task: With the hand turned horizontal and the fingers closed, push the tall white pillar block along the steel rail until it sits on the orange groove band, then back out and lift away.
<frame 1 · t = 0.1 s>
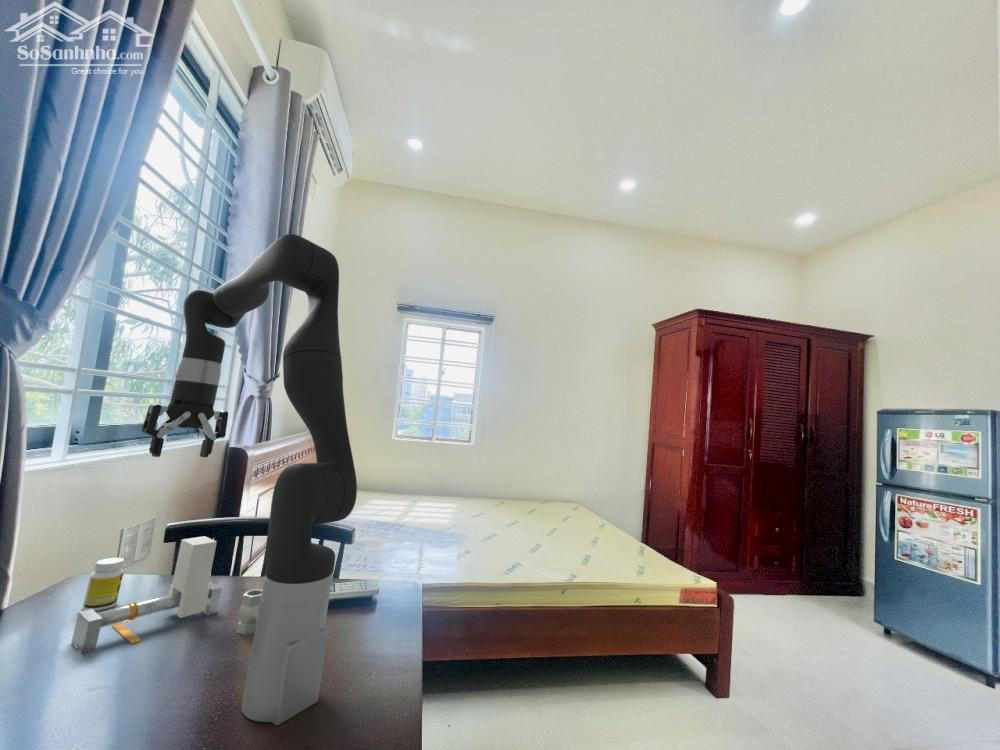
hand: (180, 456, 83), 29 cm above the table, tool pointing down, fingers open, 8 cm apart
tall white pillar block: (192, 574, 76), point 8 cm above the table, slide at 0.0 cm
rail: (151, 626, 71), on the table
valve: (263, 637, 72), on the table
supplement bottle: (99, 607, 76), on the table
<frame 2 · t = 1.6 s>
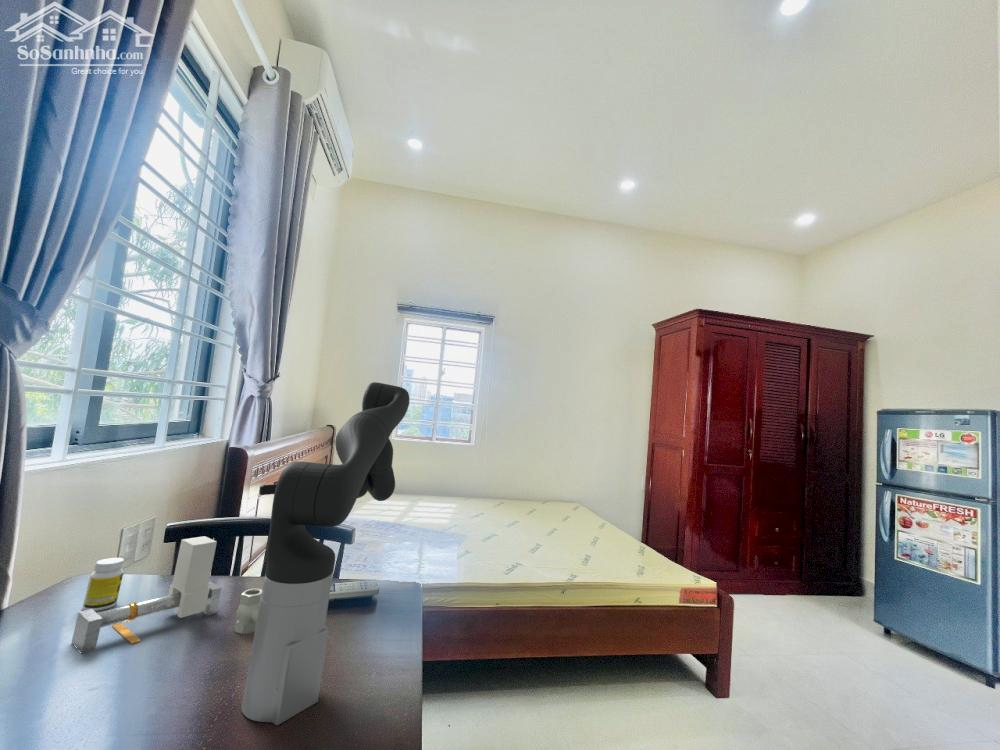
hand: (270, 493, 89), 22 cm above the table, tool horizontal, fingers open, 7 cm apart
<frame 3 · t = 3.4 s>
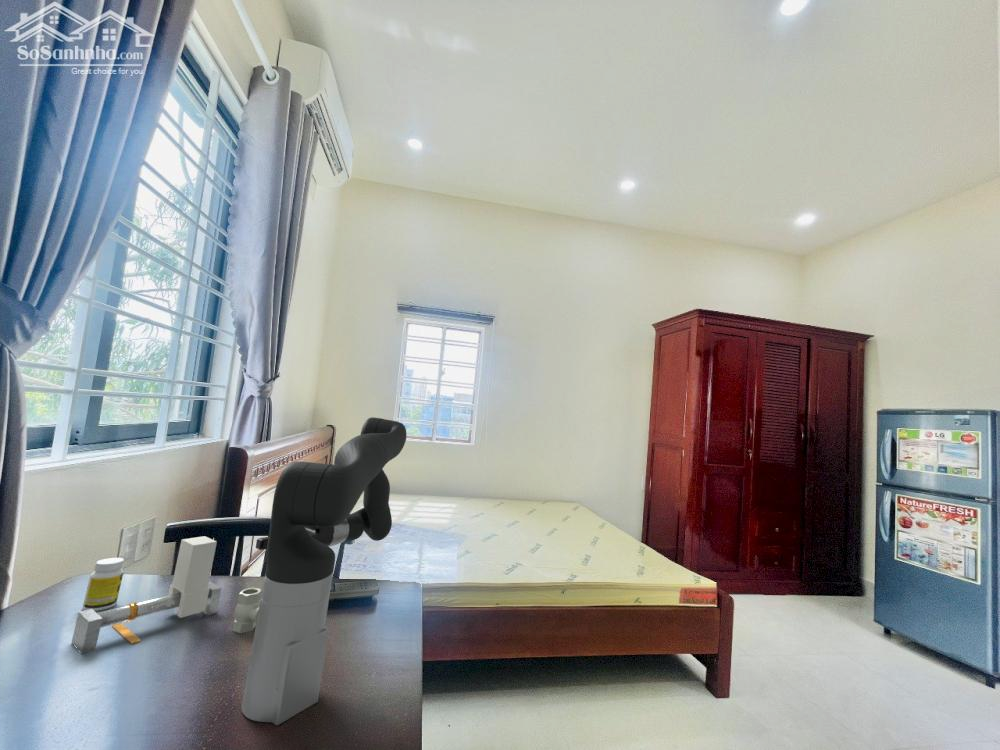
hand: (258, 544, 87), 11 cm above the table, tool horizontal, fingers closed
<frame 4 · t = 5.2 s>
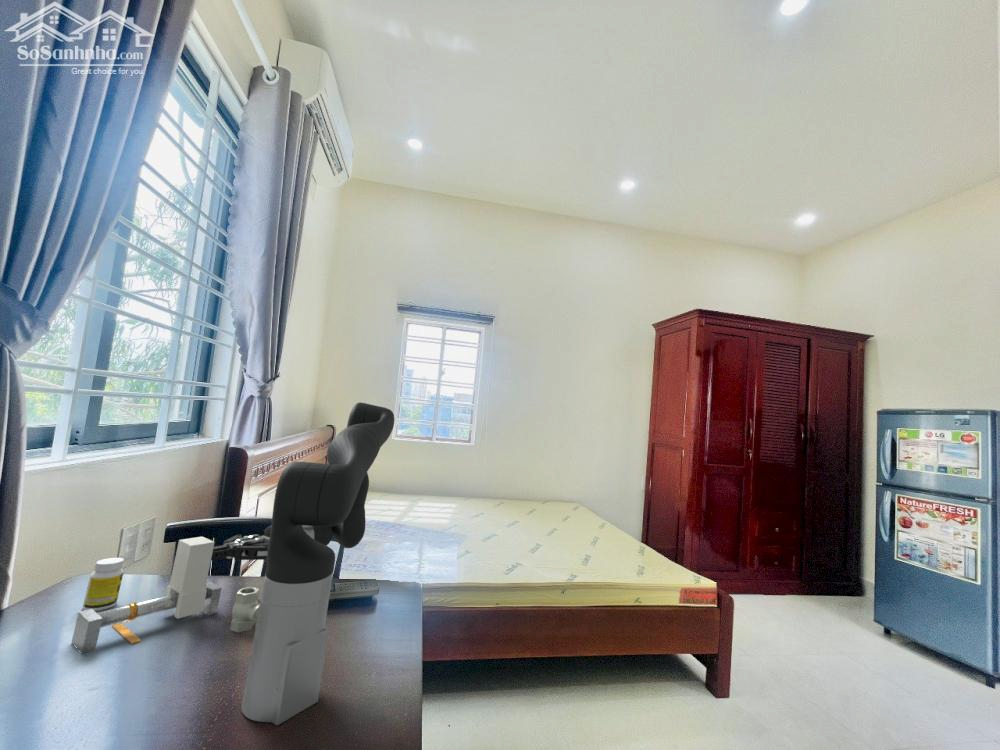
hand: (205, 554, 78), 11 cm above the table, tool horizontal, fingers closed
tall white pillar block: (189, 574, 76), point 8 cm above the table, slide at 0.4 cm, touching gripper
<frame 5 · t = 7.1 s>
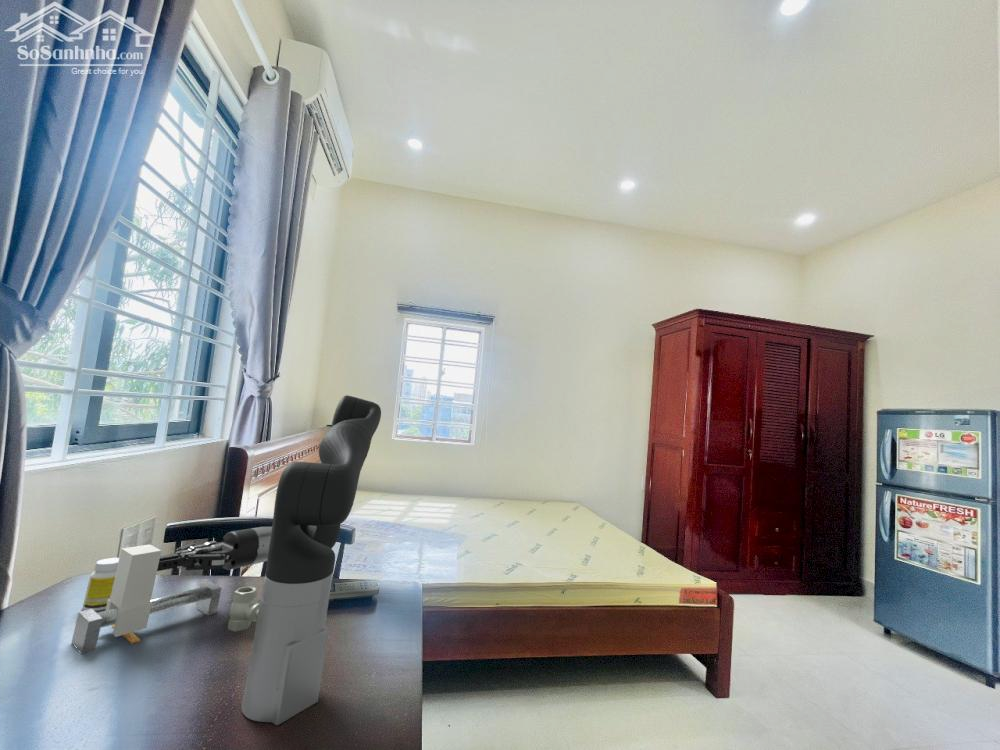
hand: (152, 564, 71), 11 cm above the table, tool horizontal, fingers closed
tall white pillar block: (133, 587, 69), point 8 cm above the table, slide at 9.0 cm, touching gripper
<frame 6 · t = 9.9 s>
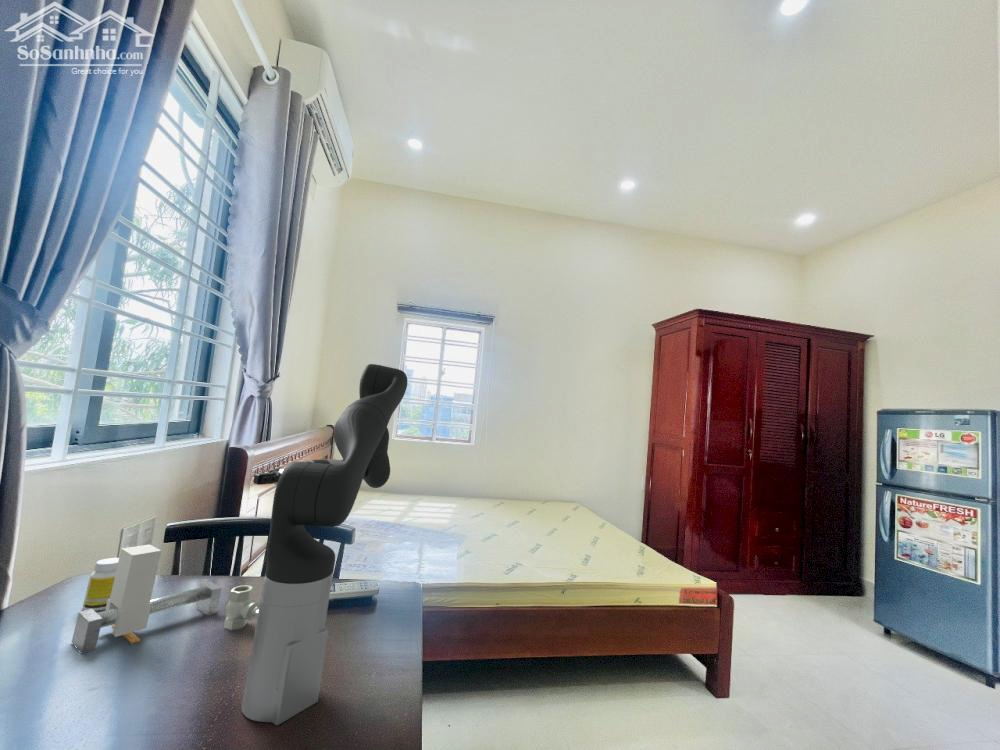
hand: (255, 479, 86), 25 cm above the table, tool horizontal, fingers closed
tall white pillar block: (132, 587, 69), point 8 cm above the table, slide at 9.0 cm
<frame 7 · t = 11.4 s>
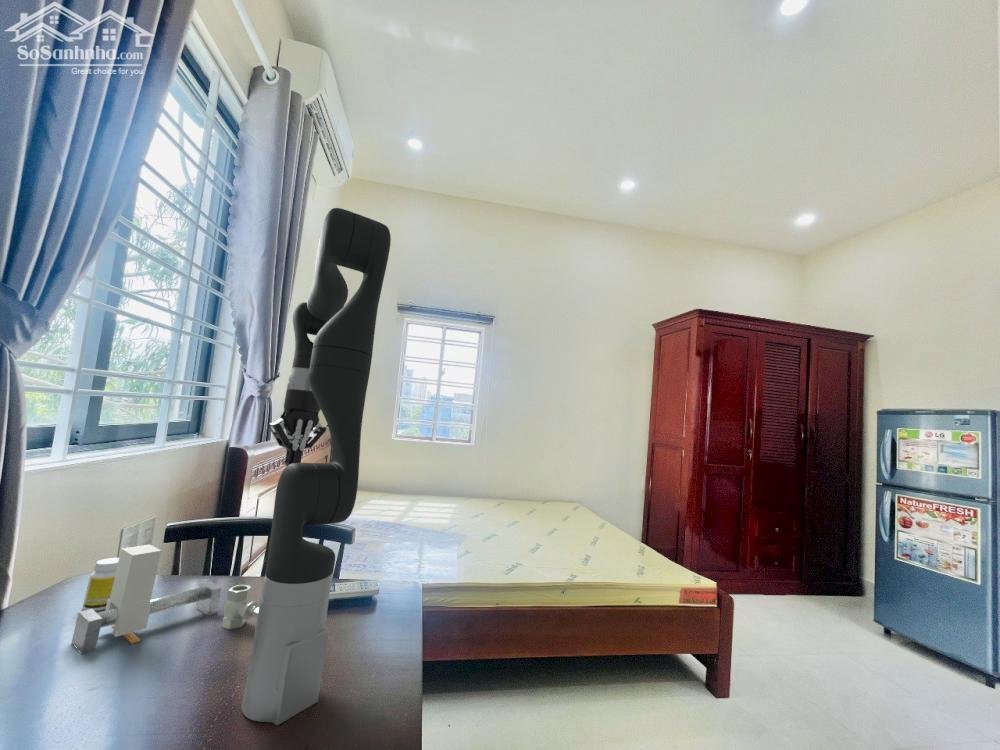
hand: (292, 467, 86), 29 cm above the table, tool pointing down, fingers closed
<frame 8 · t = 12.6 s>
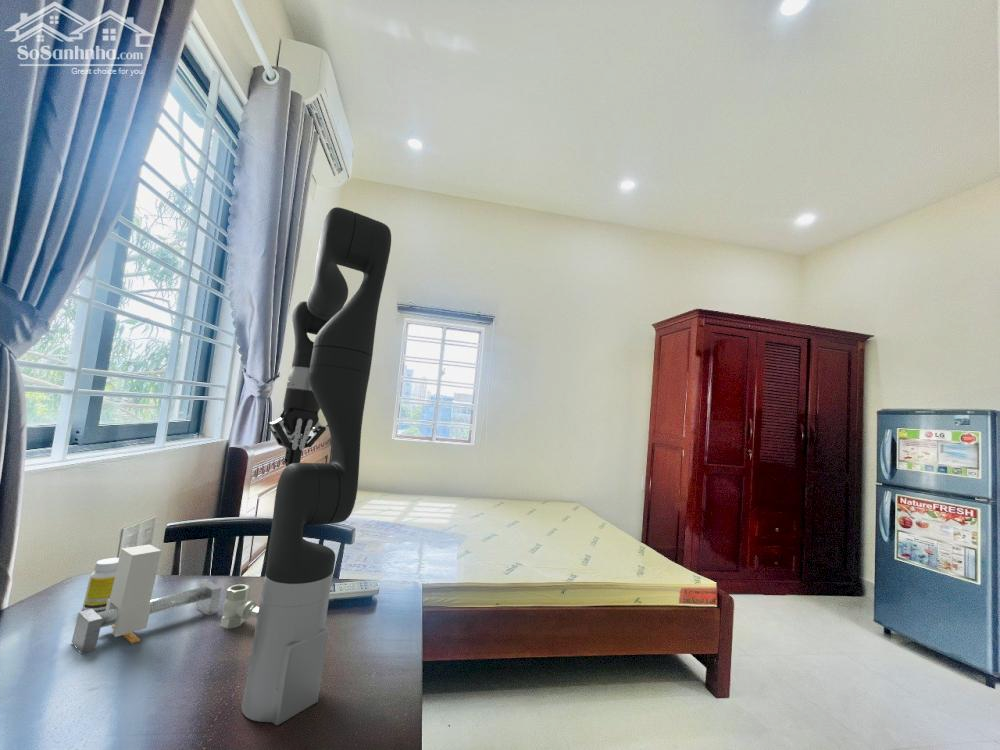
hand: (291, 466, 86), 29 cm above the table, tool pointing down, fingers closed
at the end: tall white pillar block slide at 9.0 cm; the gripper is holding nothing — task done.
